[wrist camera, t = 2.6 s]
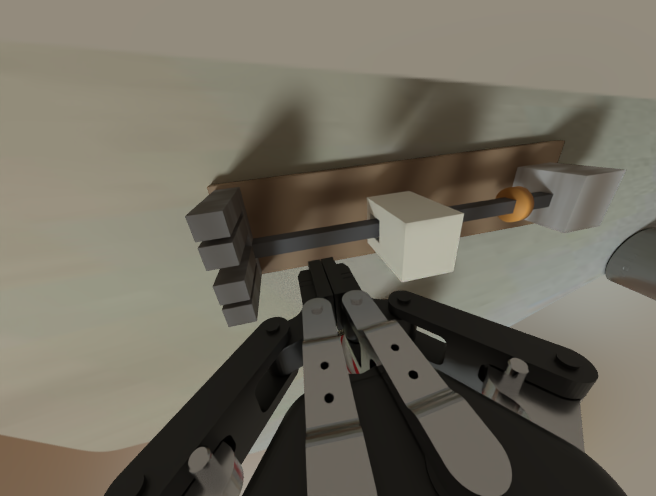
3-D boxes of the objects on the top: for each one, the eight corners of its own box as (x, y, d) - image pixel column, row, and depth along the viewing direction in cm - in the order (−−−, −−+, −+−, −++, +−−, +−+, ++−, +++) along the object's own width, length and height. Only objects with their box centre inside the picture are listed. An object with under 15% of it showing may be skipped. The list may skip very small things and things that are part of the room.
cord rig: (554, 140, 24) (668, 142, 17) (529, 220, 29) (612, 247, 21) (209, 184, 20) (173, 212, 13) (238, 273, 24) (222, 331, 17)
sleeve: (409, 190, 21) (464, 213, 15) (406, 235, 23) (453, 271, 17) (366, 197, 20) (405, 223, 14) (367, 242, 22) (401, 282, 16)
